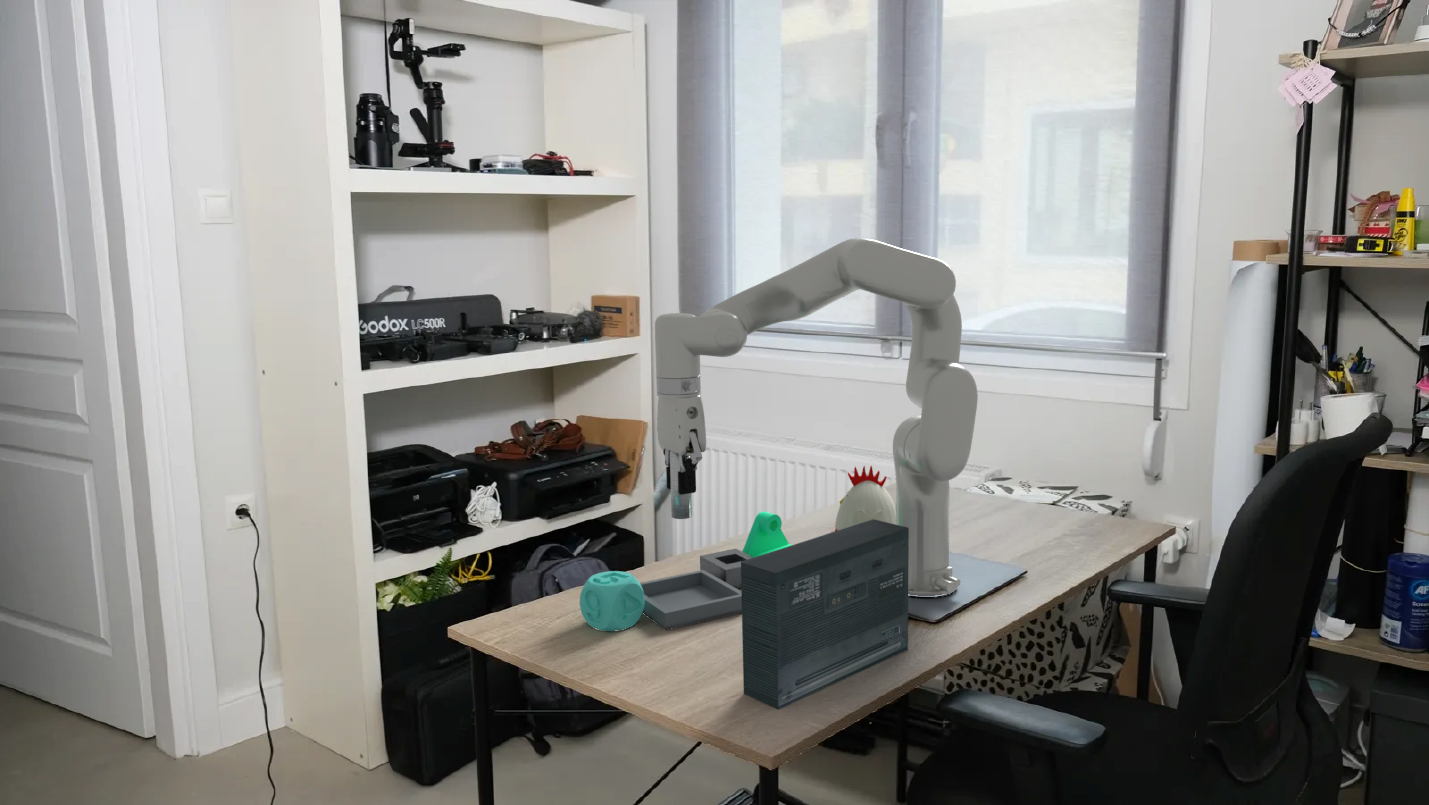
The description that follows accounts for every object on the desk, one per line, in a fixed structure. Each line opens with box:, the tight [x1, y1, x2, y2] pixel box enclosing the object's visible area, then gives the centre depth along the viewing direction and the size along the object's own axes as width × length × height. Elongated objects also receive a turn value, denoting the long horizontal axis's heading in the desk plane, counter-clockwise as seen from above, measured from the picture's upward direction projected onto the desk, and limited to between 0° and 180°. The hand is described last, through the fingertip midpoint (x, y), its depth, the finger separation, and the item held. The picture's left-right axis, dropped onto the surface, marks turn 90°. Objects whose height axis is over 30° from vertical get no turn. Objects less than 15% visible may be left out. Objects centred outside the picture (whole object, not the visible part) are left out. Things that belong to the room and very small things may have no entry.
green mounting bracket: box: [742, 510, 792, 557], centre depth 210 cm, size 12×8×10 cm, turn 132°
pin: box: [670, 449, 693, 520], centre depth 186 cm, size 4×4×13 cm
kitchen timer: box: [834, 465, 896, 532], centre depth 228 cm, size 14×14×15 cm
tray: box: [639, 569, 742, 631], centre depth 189 cm, size 16×16×3 cm
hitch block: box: [699, 548, 754, 589], centre depth 203 cm, size 10×8×4 cm
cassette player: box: [740, 519, 909, 710], centre depth 160 cm, size 29×7×20 cm, turn 132°
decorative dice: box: [579, 570, 645, 632], centre depth 182 cm, size 8×8×8 cm
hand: (681, 489), depth 186 cm, fingers closed on pin, 3 cm apart
